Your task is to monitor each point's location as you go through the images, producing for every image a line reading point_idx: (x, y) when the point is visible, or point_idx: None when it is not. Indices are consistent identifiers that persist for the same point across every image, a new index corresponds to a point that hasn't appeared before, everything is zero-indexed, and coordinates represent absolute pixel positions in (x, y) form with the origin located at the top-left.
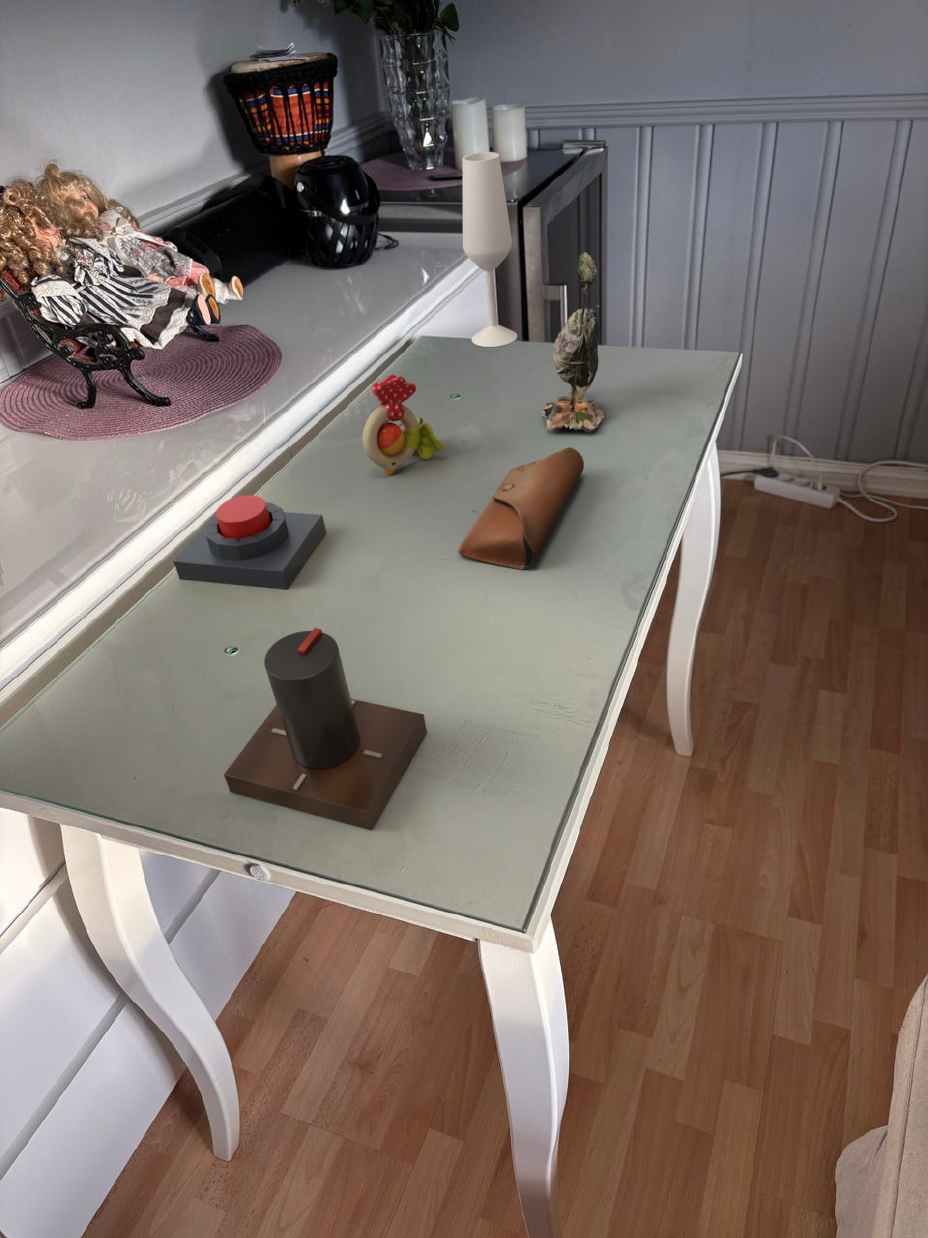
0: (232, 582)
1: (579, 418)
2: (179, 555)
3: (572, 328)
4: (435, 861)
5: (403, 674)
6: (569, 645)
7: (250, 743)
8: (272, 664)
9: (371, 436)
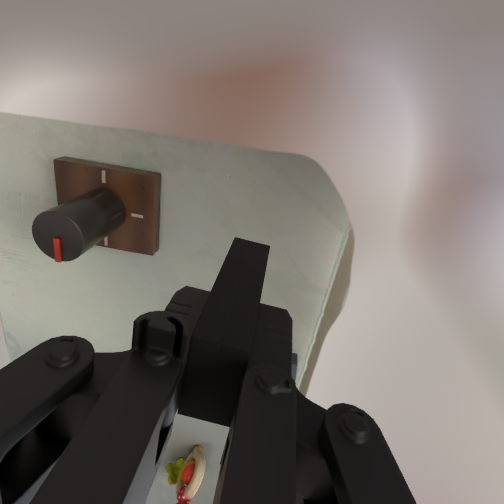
0: None
1: None
2: (295, 370)
3: None
4: (20, 140)
5: (106, 276)
6: (27, 304)
7: (151, 204)
8: (70, 225)
9: (195, 473)
